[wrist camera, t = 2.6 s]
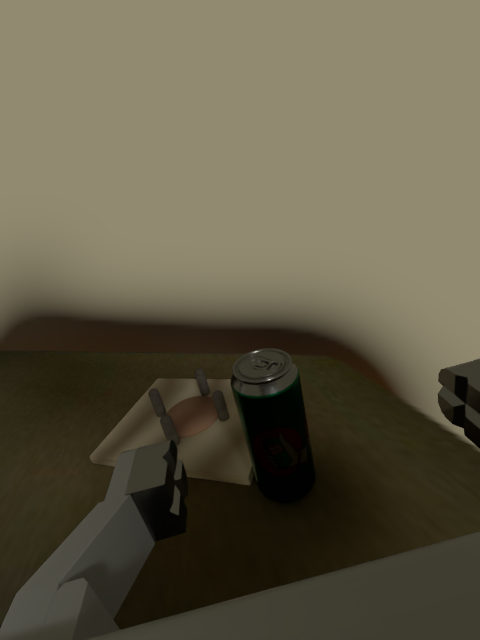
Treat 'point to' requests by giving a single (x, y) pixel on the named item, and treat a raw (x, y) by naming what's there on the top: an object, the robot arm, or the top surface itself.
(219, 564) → the top surface
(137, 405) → the can tray
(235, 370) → the soda can
